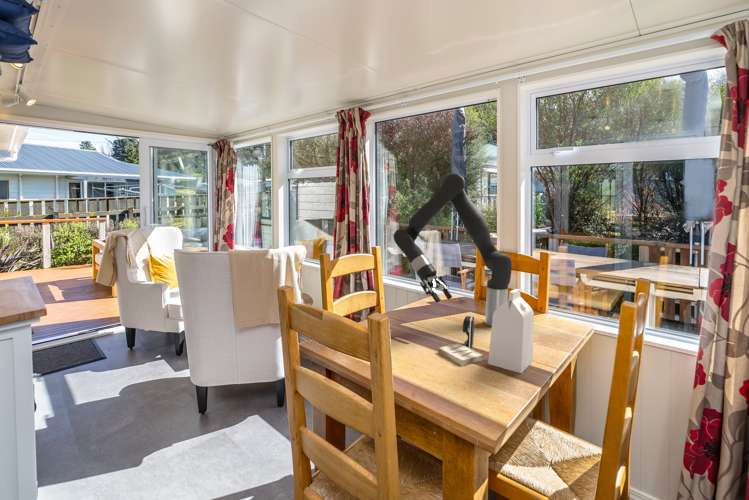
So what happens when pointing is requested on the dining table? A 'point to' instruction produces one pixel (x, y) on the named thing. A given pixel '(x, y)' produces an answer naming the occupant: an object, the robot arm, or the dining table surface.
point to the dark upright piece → (469, 330)
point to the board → (460, 354)
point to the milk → (512, 334)
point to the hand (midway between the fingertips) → (444, 299)
